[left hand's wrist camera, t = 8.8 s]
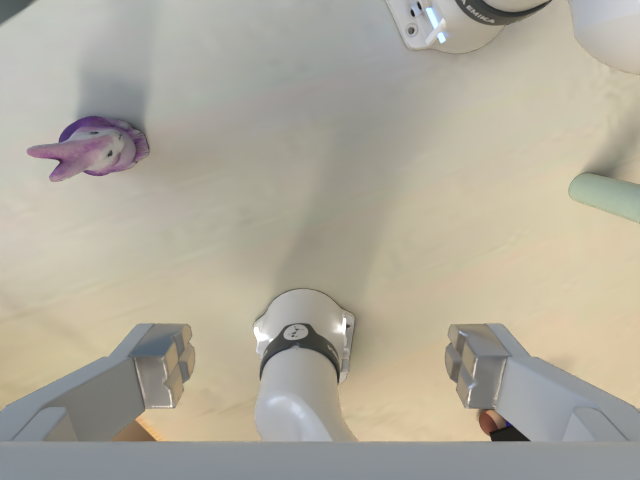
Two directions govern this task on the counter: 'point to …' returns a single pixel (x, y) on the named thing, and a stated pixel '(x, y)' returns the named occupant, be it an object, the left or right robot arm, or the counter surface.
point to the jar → (607, 195)
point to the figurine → (94, 148)
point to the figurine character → (499, 427)
